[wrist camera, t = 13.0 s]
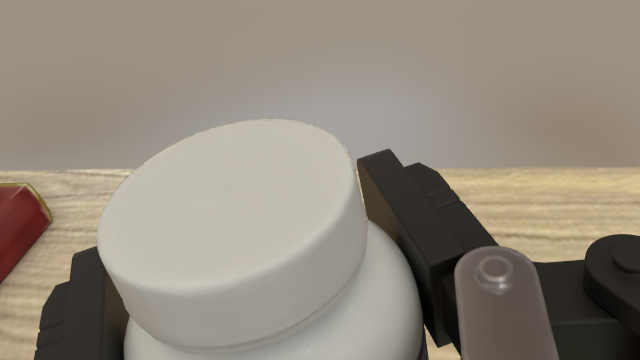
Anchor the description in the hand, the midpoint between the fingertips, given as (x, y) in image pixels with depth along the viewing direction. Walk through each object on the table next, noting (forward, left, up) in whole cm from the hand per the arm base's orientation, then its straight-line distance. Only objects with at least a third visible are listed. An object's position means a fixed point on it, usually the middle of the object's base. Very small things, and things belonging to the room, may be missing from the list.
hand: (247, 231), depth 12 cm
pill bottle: (+2, +1, -7) cm, 7 cm away
